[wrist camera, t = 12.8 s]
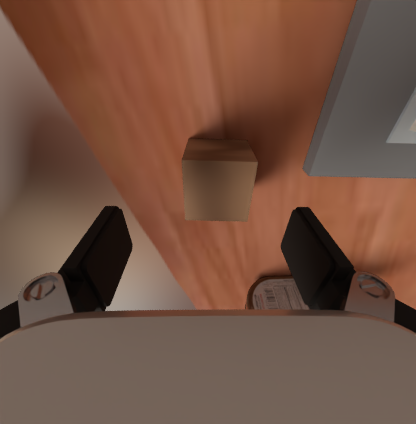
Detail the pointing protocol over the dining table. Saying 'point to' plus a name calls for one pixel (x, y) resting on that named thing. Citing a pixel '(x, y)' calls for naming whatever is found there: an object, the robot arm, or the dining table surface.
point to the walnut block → (218, 179)
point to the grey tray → (370, 98)
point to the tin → (275, 294)
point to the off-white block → (413, 126)
